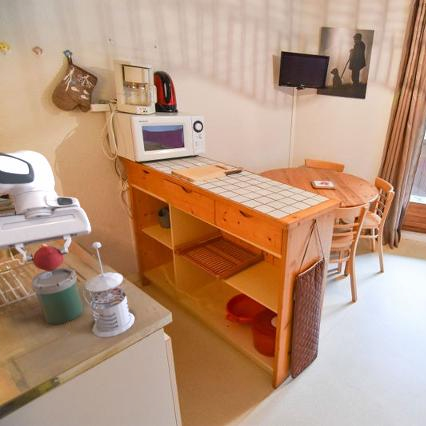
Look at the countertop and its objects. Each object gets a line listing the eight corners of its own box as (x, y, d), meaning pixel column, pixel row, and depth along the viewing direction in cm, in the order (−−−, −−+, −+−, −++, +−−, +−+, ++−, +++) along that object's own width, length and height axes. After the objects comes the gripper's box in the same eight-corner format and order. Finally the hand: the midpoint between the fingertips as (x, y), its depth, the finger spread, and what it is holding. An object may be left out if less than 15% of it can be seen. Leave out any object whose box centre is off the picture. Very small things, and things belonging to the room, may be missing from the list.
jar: (38, 328, 82) (25, 289, 77) (49, 306, 90) (37, 270, 85) (80, 320, 86) (70, 283, 81) (87, 300, 93) (78, 264, 89)
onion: (66, 263, 86) (59, 236, 83) (65, 273, 82) (58, 246, 79) (38, 268, 83) (30, 241, 80) (35, 279, 79) (27, 251, 76)
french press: (115, 340, 81) (96, 256, 71) (76, 331, 82) (52, 247, 73) (142, 315, 89) (128, 236, 80) (107, 307, 91) (89, 229, 82)
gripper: (-22, 210, 75) (-15, 265, 72) (83, 197, 87) (94, 243, 84) (-13, 220, 80) (-6, 272, 77) (86, 207, 92) (96, 251, 88)
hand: (47, 257), depth 80 cm, fingers closed on onion, 6 cm apart
